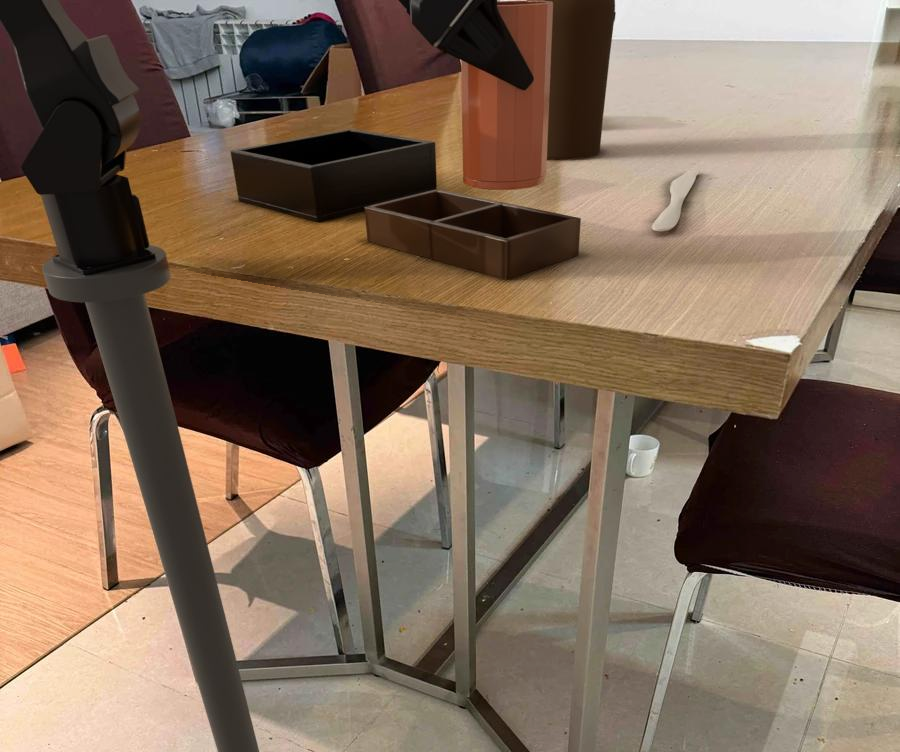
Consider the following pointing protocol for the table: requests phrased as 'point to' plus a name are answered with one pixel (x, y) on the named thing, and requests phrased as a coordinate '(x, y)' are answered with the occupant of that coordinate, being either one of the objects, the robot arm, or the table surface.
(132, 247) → the robot arm
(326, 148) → the black open box
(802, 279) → the table surface
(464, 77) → the cup
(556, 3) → the dark brown cylinder
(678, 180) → the butter knife
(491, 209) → the brown divided tray
